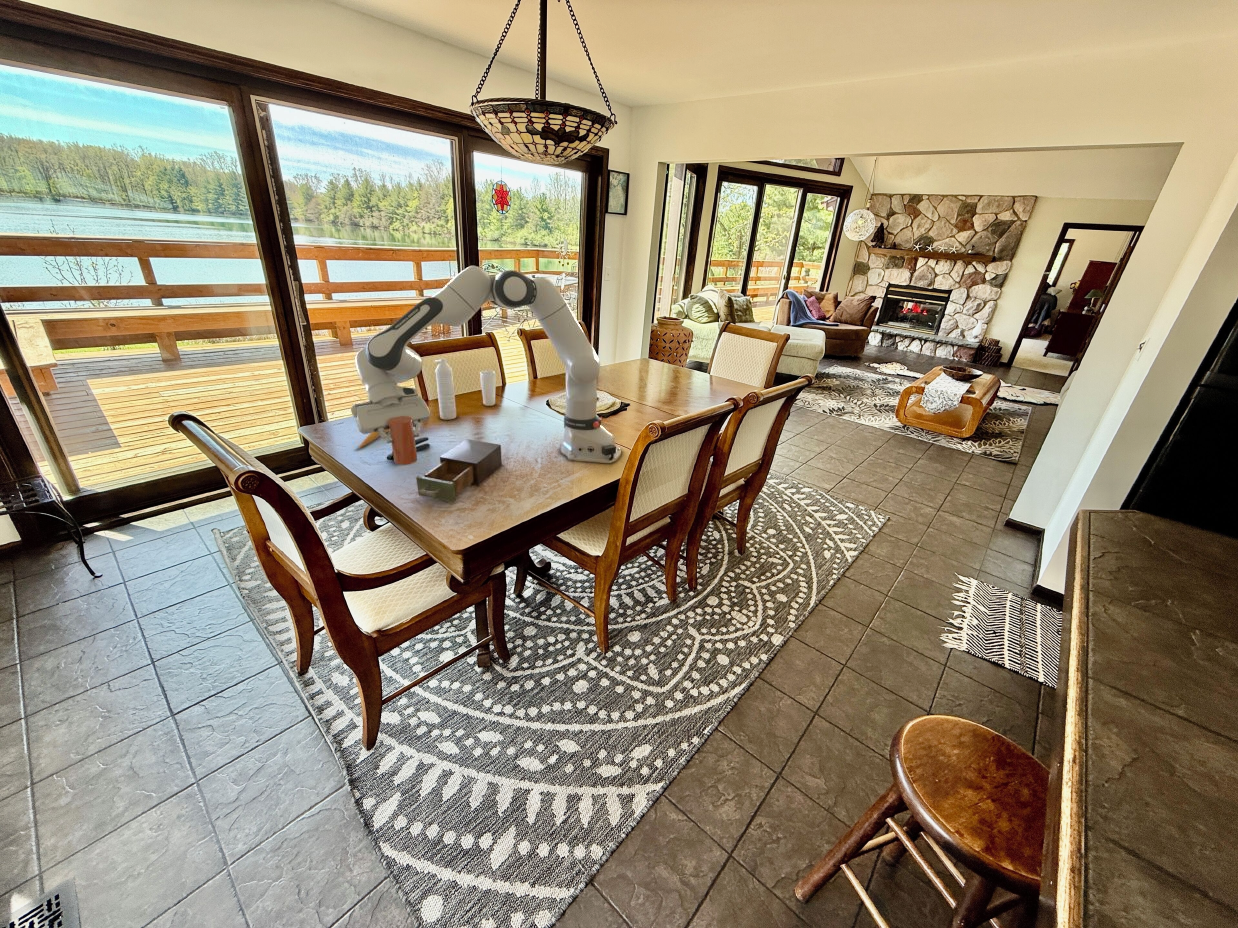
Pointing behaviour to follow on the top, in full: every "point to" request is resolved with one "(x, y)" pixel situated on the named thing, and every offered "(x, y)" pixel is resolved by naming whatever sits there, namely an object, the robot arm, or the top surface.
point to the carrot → (371, 438)
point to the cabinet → (476, 457)
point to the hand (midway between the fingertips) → (403, 439)
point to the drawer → (446, 480)
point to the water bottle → (445, 390)
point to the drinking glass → (488, 387)
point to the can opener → (418, 448)
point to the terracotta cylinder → (403, 440)
